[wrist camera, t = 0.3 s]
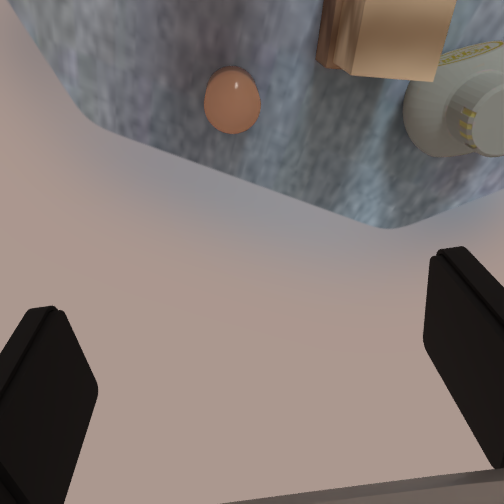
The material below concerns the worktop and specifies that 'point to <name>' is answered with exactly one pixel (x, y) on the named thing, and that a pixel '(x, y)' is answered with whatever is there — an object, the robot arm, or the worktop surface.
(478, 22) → the worktop surface
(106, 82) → the worktop surface
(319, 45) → the base block
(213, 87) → the brown rounded cylinder
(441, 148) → the air freshener
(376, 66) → the top block
